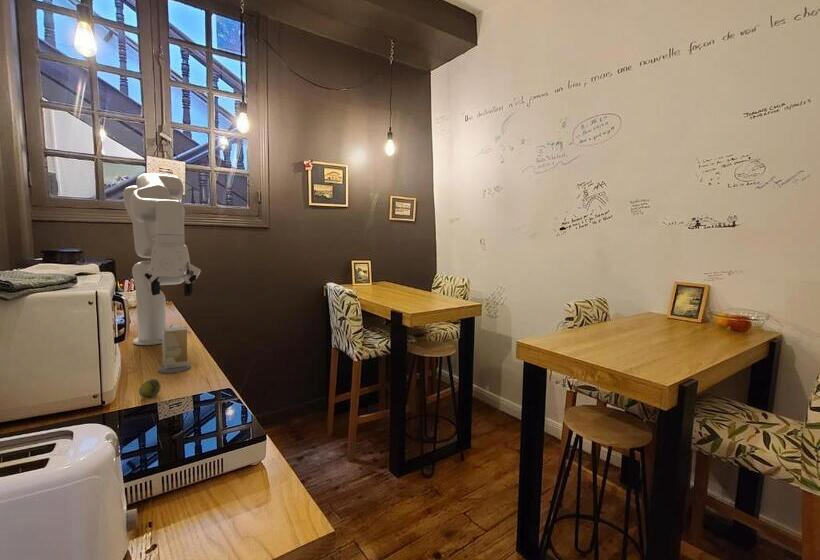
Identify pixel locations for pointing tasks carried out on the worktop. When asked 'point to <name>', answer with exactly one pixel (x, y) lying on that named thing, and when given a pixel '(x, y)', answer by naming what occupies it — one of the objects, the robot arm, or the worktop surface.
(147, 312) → the robot arm
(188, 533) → the worktop surface
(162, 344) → the photo printer
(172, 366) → the skincare box
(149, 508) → the worktop surface
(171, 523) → the worktop surface
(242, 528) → the worktop surface
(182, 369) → the coaster
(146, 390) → the lime
